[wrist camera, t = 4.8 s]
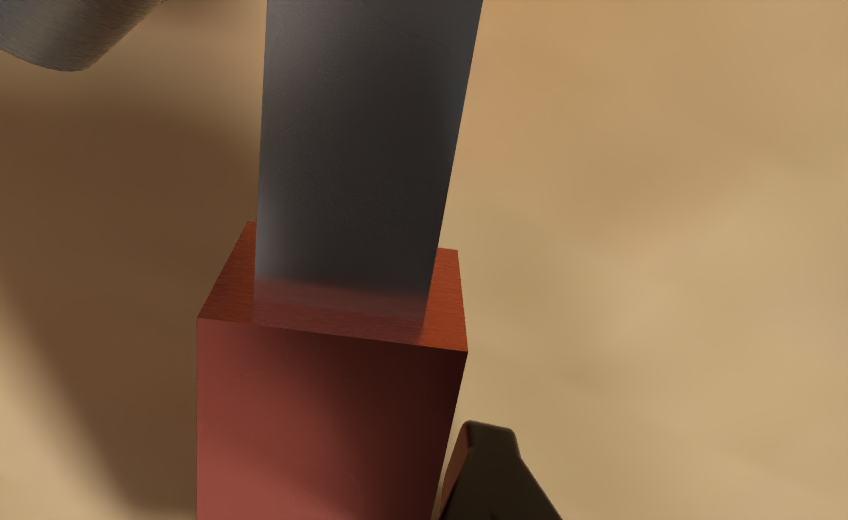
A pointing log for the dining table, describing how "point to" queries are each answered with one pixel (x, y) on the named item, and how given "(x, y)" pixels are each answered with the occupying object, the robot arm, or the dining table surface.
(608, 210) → the dining table surface
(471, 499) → the robot arm
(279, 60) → the valve lever
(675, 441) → the dining table surface
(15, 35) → the valve body
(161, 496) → the dining table surface
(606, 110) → the dining table surface
